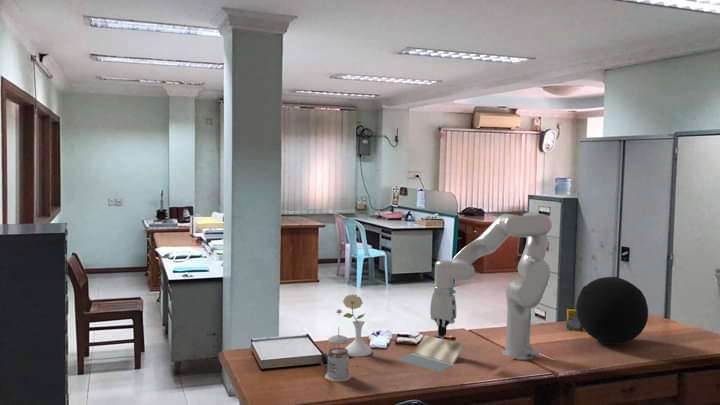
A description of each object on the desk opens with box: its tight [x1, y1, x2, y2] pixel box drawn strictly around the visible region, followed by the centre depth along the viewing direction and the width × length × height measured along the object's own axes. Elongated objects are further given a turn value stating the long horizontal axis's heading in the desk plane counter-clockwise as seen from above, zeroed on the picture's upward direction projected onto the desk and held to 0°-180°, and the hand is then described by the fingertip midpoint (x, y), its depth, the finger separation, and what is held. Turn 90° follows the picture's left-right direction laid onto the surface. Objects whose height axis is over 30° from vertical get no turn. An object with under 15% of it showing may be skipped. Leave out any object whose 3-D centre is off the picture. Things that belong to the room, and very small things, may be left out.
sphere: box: [575, 276, 649, 345], centre depth 258 cm, size 30×30×30 cm
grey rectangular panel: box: [396, 353, 455, 373], centre depth 225 cm, size 20×11×1 cm, turn 51°
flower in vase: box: [342, 293, 373, 358], centre depth 235 cm, size 13×11×25 cm
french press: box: [324, 309, 352, 382], centre depth 211 cm, size 10×12×25 cm
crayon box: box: [565, 304, 584, 331], centre depth 280 cm, size 7×3×12 cm, turn 80°
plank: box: [413, 334, 465, 364], centre depth 232 cm, size 18×10×1 cm
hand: (442, 335), depth 234 cm, fingers closed
